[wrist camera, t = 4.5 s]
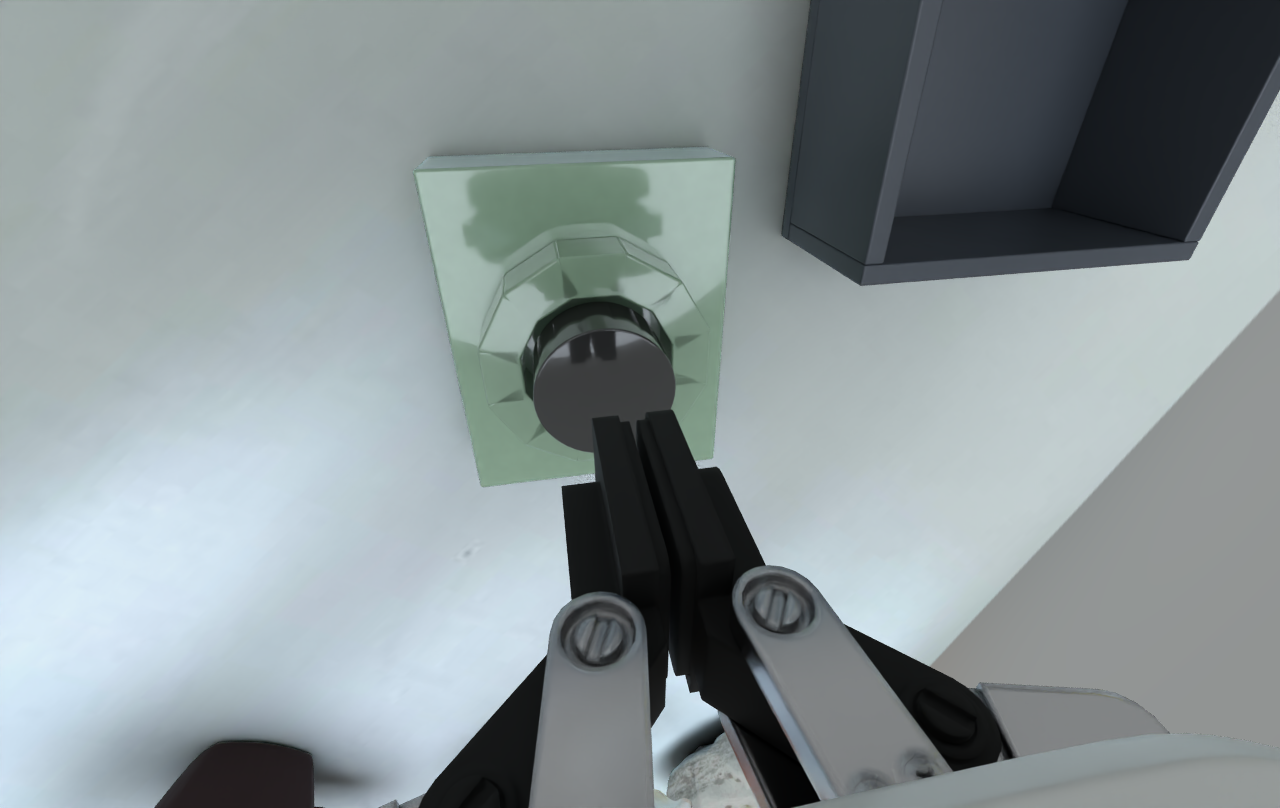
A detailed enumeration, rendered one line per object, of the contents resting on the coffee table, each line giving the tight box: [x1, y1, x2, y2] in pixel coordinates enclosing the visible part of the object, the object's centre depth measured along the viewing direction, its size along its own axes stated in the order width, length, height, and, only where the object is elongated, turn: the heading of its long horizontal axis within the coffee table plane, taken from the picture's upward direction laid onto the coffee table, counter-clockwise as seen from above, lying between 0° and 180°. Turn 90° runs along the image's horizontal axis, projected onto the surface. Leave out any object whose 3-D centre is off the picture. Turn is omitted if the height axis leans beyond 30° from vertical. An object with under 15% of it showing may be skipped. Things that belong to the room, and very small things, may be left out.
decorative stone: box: [667, 732, 759, 808], centre depth 37 cm, size 12×11×5 cm
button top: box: [532, 302, 676, 453], centre depth 16 cm, size 4×4×2 cm
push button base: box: [413, 147, 736, 487], centre depth 18 cm, size 11×9×4 cm
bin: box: [782, 0, 1280, 286], centre depth 15 cm, size 11×11×6 cm
